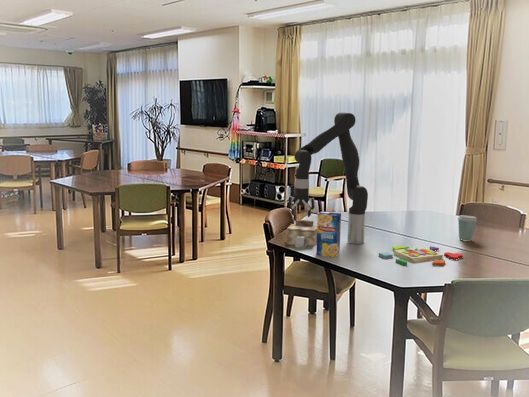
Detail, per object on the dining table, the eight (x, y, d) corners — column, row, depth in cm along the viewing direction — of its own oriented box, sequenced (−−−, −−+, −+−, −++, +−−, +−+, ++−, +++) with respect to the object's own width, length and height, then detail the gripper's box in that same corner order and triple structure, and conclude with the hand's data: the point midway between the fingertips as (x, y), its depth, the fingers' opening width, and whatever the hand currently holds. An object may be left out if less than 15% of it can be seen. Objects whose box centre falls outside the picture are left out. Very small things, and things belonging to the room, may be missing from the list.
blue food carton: (319, 251, 268) (321, 211, 264) (339, 254, 264) (341, 213, 260) (316, 254, 262) (317, 214, 258) (336, 257, 258) (338, 215, 254)
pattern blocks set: (423, 272, 237) (423, 266, 236) (369, 255, 263) (370, 250, 263) (468, 259, 259) (468, 253, 259) (414, 244, 286) (415, 239, 285)
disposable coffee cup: (457, 237, 303) (459, 213, 301) (476, 239, 298) (478, 215, 295) (454, 241, 294) (456, 216, 292) (473, 243, 289) (476, 218, 286)
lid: (318, 227, 288) (318, 220, 287) (314, 231, 277) (314, 225, 276) (291, 225, 292) (291, 218, 292) (286, 229, 281) (286, 223, 280)
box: (318, 241, 289) (318, 227, 288) (314, 246, 278) (314, 232, 277) (291, 238, 294) (291, 225, 292) (286, 243, 282) (286, 230, 281)
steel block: (305, 246, 278) (305, 236, 277) (303, 248, 273) (303, 238, 272) (297, 245, 279) (297, 235, 278) (295, 247, 275) (295, 237, 274)
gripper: (287, 187, 269) (286, 216, 272) (313, 188, 265) (312, 218, 268) (290, 185, 276) (290, 213, 279) (316, 186, 272) (315, 215, 275)
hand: (301, 216), depth 273 cm, fingers open, 8 cm apart
